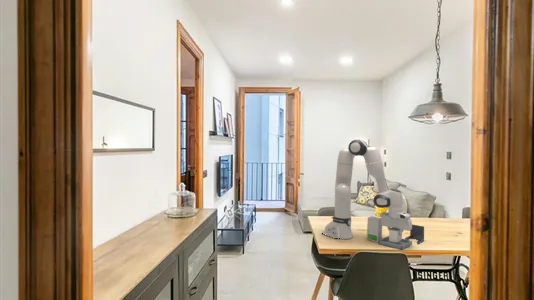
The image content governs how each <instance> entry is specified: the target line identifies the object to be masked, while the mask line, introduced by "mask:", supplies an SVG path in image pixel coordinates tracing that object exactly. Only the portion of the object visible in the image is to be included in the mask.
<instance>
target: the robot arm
mask: <svg viewBox="0 0 534 300" xmlns="http://www.w3.org/2000/svg"><path fill="white" fill-rule="evenodd" d="M357 156H358V157H359V156H361V157H363V159H364V162H365V167H366V170H367V173H368V174H369V175H370V176H371V177H373V178H374V179H375V181H376V184H377V185H376V186H377V189H378V193H377V194H376V195H374V197H373V204H374V205H375V206H376V207H377V208H380V209H383V208H387V209H388V211H382V212H380V214H379V215H380V217H379V218H381V219H380V224H381V225H382V227H386V228H387V230H388V231H389V229H390V228H397V229H400V231H401V232H400V233H399V236H402V237H403V233H404V231H409V232H410V230H411V229H412V224H413V223H412V219H411V214H410V213H407V212H406V211H404V209H403V203H404V202H403V201H404V199H403V197H404V196H403V193H402V191H401V190H398V189H395V188H390V189H389V188H388V187H389V186H388V184H387V180H386V179H387V178H386V176H385V170H384V164H383V159H382V155H381V153H380V150H379V149H378V147H375V146H369V145H368V144H367V142H366V141H364V140H361V139H353V140H351V141H350V142H349V144H348V147H345V148H341V149H340V150H339V152H338V156H337V163H336V173H335V174H336V175H335V184H334V185H335V186H334V216H332V217H331V219H332V221H330V222H329V223H328V224H326V225H325V226H324V227H325V228H324V230H323V231H322V232H321V234H322V233H323V234H326V235H328V236H327V237H329V236H331V237H333V238H332V239H334V238H338V239H337V240H349V239H353V234H352V233H353V232H352V216H351V207H352V206H351V203H352V190H351V188H352V187H351V186H352V178H353V170H354V167H353V166H354V159H355V157H357ZM323 234H322V235H323ZM326 235H325V236H326ZM331 237H330V238H331ZM339 238H340V239H339Z"/></svg>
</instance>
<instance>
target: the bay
mask: <svg viewBox="0 0 534 300" xmlns="http://www.w3.org/2000/svg"><path fill="white" fill-rule="evenodd" d="M409 233H410V234H409V235H408V236H406V237H405V238H404V239H406V240H409V239H410V240H411V239H412V240H415V239H416V244H417V245H420V244H422V243H424V242H425V226H424V225H417V224H413V223H412V229H411V230H410V231H409Z"/></svg>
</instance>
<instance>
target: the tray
mask: <svg viewBox="0 0 534 300" xmlns="http://www.w3.org/2000/svg"><path fill="white" fill-rule="evenodd" d="M377 243H378V245H380V246H385V247H387V248H388V247H389V248H392V249H396V250H399V251H404V250H405V249H407V248H409V247H410V246H412V245H413V241H412V240H411V239H410V240H406V239H405V238H402V240H401V241H399V242H397V243H396V242H392V241H389V235H387V236H385V237H382V239H381V240H379V242H377Z"/></svg>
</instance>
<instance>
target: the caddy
mask: <svg viewBox="0 0 534 300" xmlns="http://www.w3.org/2000/svg"><path fill="white" fill-rule="evenodd" d="M400 232H401V231H400V229H397V228H392V227H391V228H390V229H389V230H388V236H389V241H392V242H396V243H397V242H399V241H401V240H402V239H403V238H402V237H403V235H402V236H399V233H400Z"/></svg>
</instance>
